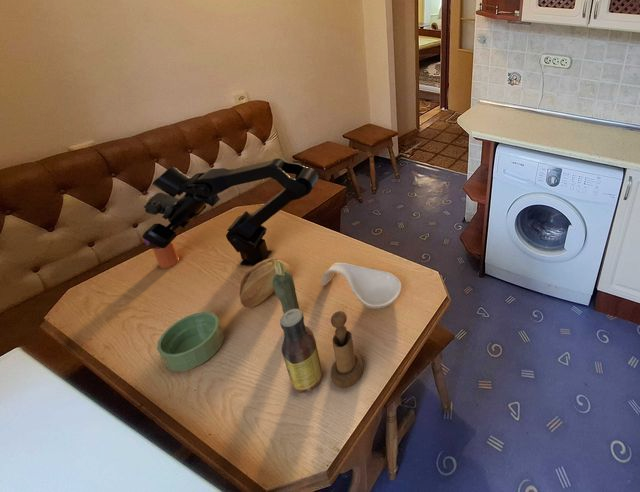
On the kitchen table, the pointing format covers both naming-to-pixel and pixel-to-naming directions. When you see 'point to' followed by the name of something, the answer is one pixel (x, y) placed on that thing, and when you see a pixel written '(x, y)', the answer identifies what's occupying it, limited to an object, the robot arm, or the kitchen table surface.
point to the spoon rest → (367, 284)
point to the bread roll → (259, 282)
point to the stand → (166, 256)
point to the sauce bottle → (300, 352)
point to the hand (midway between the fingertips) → (161, 237)
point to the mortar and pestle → (344, 354)
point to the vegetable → (284, 287)
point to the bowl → (190, 341)
